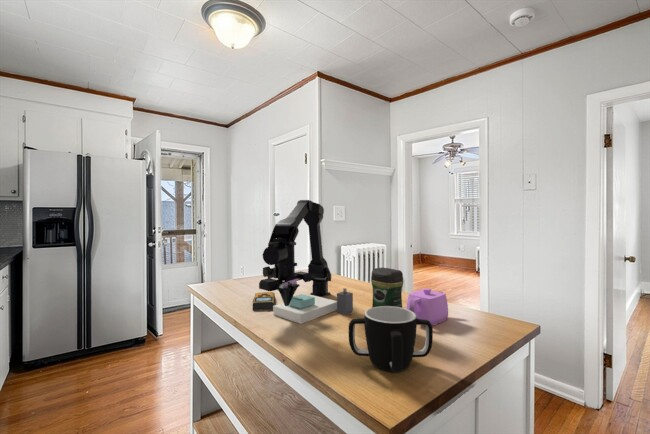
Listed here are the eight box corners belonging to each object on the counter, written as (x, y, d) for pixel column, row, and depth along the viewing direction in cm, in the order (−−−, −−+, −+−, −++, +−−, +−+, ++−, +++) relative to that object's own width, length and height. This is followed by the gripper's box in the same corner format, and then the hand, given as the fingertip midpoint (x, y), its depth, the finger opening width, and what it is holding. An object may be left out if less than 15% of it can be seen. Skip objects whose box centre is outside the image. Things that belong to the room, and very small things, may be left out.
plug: (344, 310, 115) (343, 286, 114) (352, 312, 112) (352, 288, 112) (337, 312, 112) (336, 288, 111) (345, 315, 109) (345, 290, 109)
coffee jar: (408, 329, 95) (408, 268, 95) (391, 336, 91) (391, 272, 90) (383, 320, 103) (383, 264, 103) (367, 326, 98) (366, 267, 98)
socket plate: (310, 302, 124) (310, 294, 124) (338, 309, 115) (338, 301, 115) (273, 314, 110) (273, 305, 110) (300, 323, 101) (300, 314, 101)
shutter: (301, 300, 116) (301, 292, 116) (314, 304, 111) (314, 295, 111) (287, 304, 111) (287, 296, 110) (300, 308, 106) (300, 299, 106)
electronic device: (275, 299, 132) (275, 291, 132) (274, 310, 116) (274, 301, 116) (254, 299, 131) (254, 291, 130) (251, 311, 115) (251, 302, 115)
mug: (440, 367, 73) (440, 315, 72) (392, 390, 63) (392, 331, 63) (388, 343, 86) (388, 299, 86) (342, 359, 77) (342, 310, 76)
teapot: (429, 309, 114) (429, 281, 114) (456, 317, 106) (456, 287, 106) (398, 321, 103) (398, 290, 103) (426, 330, 95) (426, 296, 95)
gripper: (290, 254, 118) (291, 295, 118) (248, 261, 104) (249, 307, 104) (311, 257, 110) (312, 301, 111) (269, 264, 96) (270, 315, 97)
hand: (286, 305), depth 106 cm, fingers closed
